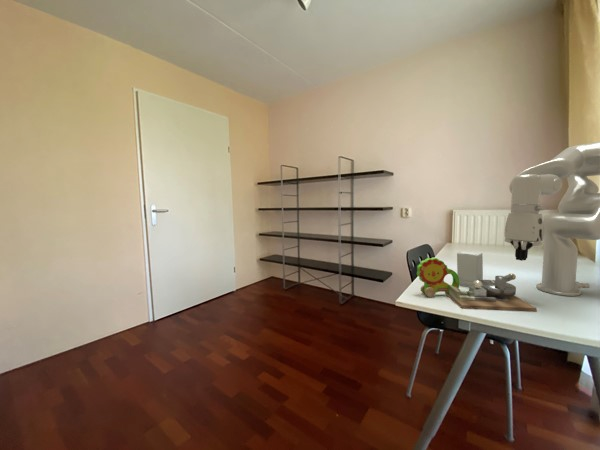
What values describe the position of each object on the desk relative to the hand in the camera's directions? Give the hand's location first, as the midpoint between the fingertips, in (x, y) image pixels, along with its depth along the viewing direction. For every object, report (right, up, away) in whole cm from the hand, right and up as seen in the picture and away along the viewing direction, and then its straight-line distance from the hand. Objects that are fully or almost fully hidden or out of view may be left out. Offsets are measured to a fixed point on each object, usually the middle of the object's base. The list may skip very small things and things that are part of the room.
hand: (520, 259), depth 92 cm
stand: (-11, -16, +2) cm, 19 cm away
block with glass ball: (-14, -15, +3) cm, 20 cm away
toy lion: (-26, -16, +9) cm, 31 cm away
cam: (-5, -14, +5) cm, 15 cm away
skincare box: (-5, -14, +20) cm, 25 cm away
